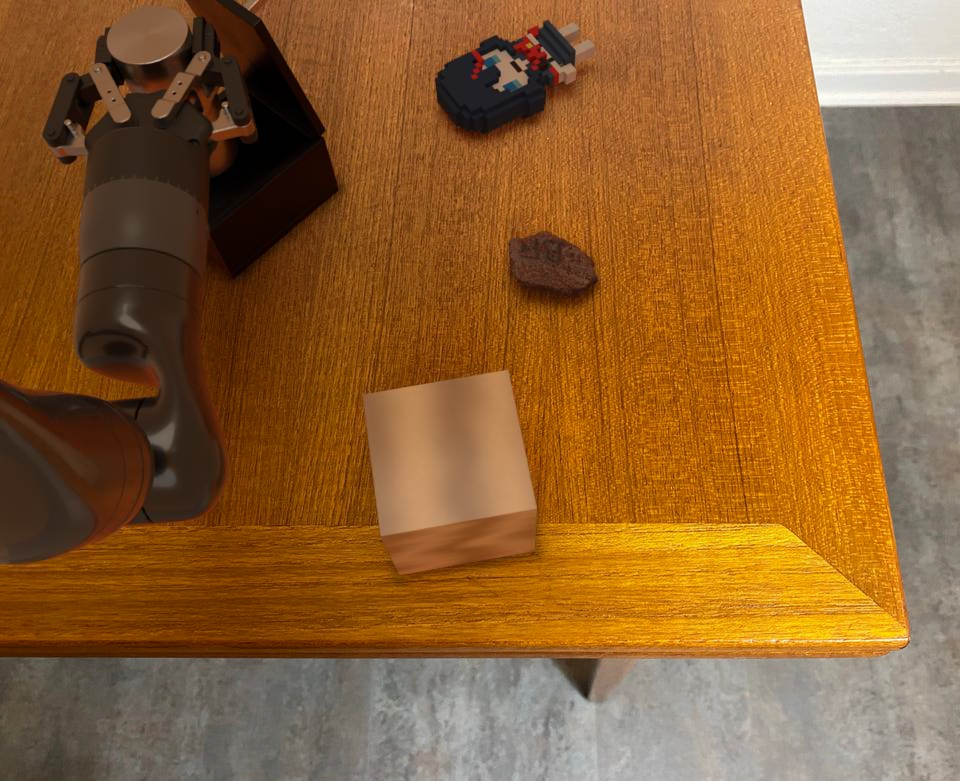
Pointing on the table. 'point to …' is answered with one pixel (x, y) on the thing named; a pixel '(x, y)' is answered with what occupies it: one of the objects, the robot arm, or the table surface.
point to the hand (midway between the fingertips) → (159, 32)
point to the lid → (257, 56)
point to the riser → (450, 472)
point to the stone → (551, 265)
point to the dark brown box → (266, 187)
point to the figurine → (509, 77)
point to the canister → (161, 62)
